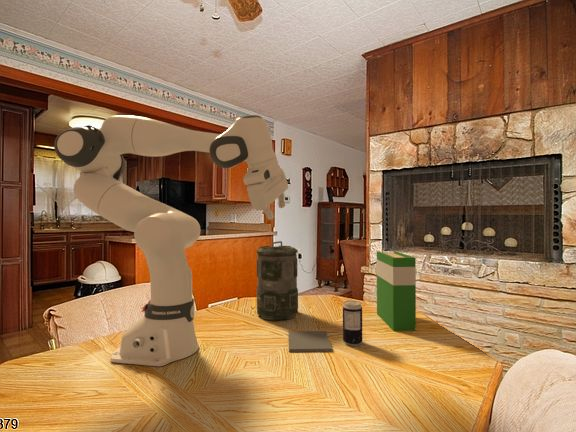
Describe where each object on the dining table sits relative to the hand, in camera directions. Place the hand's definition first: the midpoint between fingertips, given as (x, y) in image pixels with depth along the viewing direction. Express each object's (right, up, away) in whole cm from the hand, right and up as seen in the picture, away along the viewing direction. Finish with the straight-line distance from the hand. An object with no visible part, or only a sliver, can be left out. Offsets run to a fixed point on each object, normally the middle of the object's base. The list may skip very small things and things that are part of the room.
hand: (277, 212), depth 97 cm
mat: (+10, -39, -3) cm, 40 cm away
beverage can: (+23, -39, -4) cm, 45 cm away
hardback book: (+41, -39, +14) cm, 59 cm away
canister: (-1, -39, +23) cm, 45 cm away
